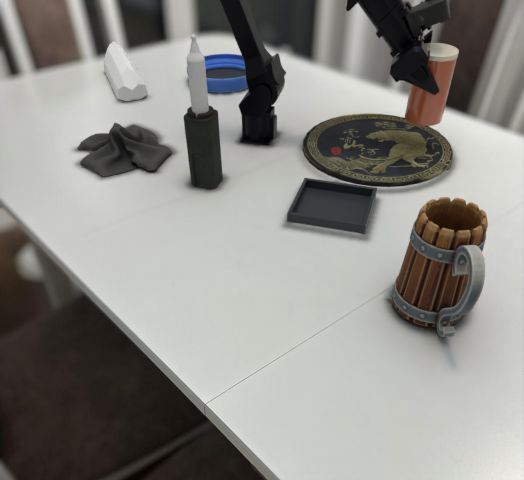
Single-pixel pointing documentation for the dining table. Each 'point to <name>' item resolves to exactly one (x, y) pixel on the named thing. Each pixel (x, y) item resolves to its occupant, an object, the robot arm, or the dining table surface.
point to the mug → (442, 265)
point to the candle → (201, 126)
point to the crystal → (123, 74)
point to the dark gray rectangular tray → (332, 205)
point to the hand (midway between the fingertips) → (437, 85)
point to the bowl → (225, 72)
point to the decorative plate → (377, 150)
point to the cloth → (123, 150)
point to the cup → (442, 67)
